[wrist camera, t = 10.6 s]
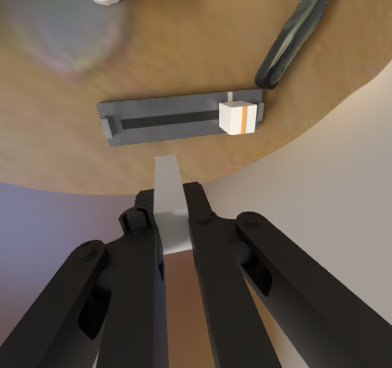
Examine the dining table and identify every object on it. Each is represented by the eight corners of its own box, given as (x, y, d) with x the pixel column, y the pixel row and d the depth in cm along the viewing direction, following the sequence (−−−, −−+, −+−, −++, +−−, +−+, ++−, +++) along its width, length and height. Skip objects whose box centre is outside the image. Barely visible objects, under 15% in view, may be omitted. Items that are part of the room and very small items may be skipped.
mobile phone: (276, 92, 30) (348, -21, 24) (262, 83, 29) (335, -39, 22) (262, 90, 34) (320, -8, 28) (249, 81, 33) (307, -22, 27)
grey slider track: (99, 102, 30) (91, 105, 26) (257, 88, 33) (268, 89, 30) (112, 143, 33) (107, 150, 30) (253, 126, 37) (263, 131, 33)
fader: (219, 102, 31) (231, 107, 26) (241, 100, 31) (257, 105, 26) (219, 126, 33) (230, 135, 28) (239, 123, 33) (254, 132, 28)
